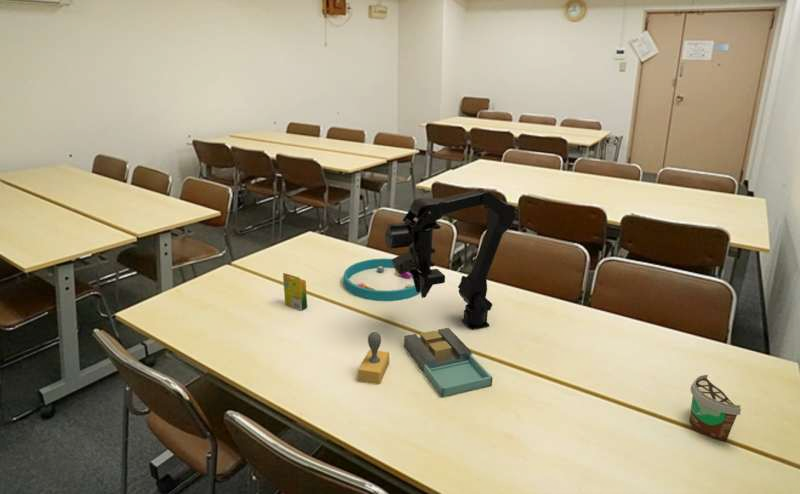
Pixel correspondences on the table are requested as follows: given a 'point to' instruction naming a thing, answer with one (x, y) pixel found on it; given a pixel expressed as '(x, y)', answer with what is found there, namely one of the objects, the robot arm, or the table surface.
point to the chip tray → (458, 377)
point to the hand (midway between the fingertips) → (420, 294)
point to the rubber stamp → (374, 361)
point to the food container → (711, 410)
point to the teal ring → (370, 292)
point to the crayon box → (295, 292)
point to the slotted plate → (426, 357)
